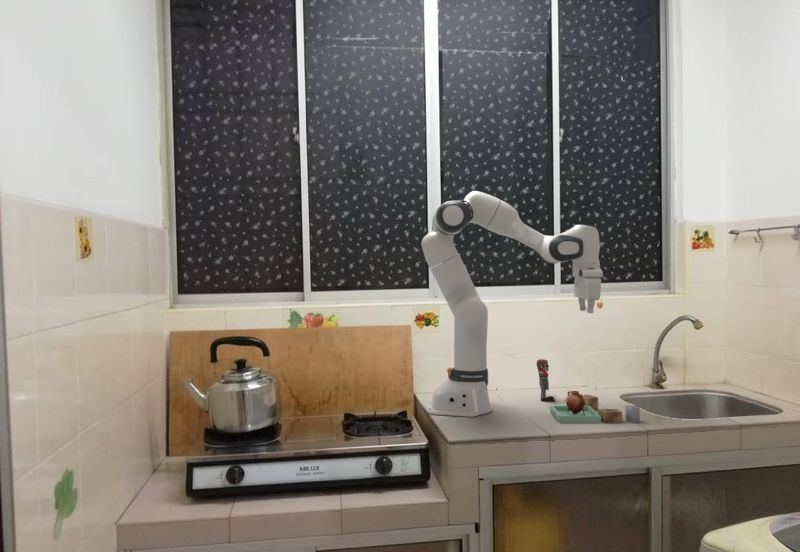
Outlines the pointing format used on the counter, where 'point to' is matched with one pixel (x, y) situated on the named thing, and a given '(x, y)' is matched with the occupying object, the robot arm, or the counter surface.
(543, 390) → the toy
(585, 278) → the robot arm
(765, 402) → the counter surface
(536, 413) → the counter surface
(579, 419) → the tray
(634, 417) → the blue-grey cube
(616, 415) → the walnut block
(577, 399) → the pot
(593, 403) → the oak cube
